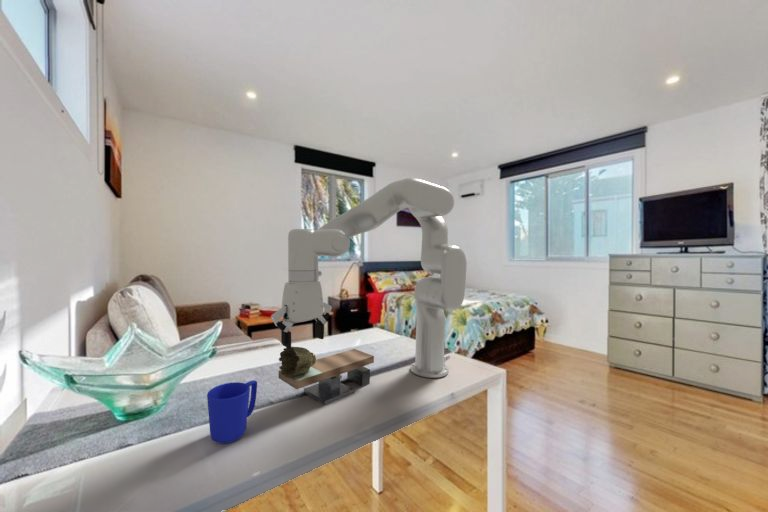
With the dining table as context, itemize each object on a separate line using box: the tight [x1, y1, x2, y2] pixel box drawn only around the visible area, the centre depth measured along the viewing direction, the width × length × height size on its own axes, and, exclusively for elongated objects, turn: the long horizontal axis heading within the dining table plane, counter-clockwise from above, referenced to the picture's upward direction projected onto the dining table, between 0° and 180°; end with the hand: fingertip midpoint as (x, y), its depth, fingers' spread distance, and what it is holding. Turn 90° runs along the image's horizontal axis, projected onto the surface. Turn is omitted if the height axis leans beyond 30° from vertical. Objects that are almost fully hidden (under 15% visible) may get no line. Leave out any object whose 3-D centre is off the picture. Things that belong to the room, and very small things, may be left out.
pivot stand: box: [303, 366, 371, 405], centre depth 92 cm, size 18×10×5 cm, turn 136°
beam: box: [278, 348, 375, 390], centre depth 89 cm, size 26×10×3 cm, turn 136°
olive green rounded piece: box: [278, 346, 317, 378], centre depth 82 cm, size 8×7×8 cm
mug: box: [206, 379, 258, 444], centre depth 70 cm, size 8×12×10 cm
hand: (303, 342), depth 83 cm, fingers open, 9 cm apart
